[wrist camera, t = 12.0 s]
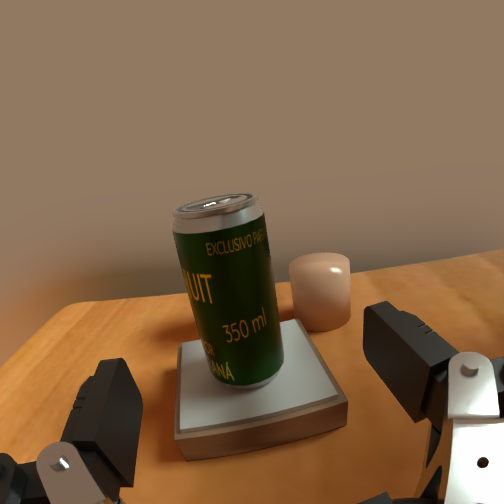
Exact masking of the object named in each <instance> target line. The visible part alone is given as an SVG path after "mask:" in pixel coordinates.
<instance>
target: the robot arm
mask: <svg viewBox="0 0 504 504" xmlns="http://www.w3.org/2000/svg"><path fill="white" fill-rule="evenodd" d="M363 350H364V354H365V357H366V359H367V361H368V362H369V363H370V365H371V366H372V367H373V369H374V370H375V371H376V373H377V374H378V375H379V376H380V378H381V379H382V380H383V382H384V383H385V384H386V386H387V387H388V388H389V389H390V391H391V392H392V393H393V395H394V396H395V397H396V399H397V400H398V401H399V403H400V404H401V405H402V407H403V408H404V409H405V411H406V412H407V413H408V415H409V416H410V417H411V419H412V420H413V421H414V423H417V422H419V421H421V420H423V419H425V418H428V419H429V420H430V421H431V422H430V425H429V429H428V437H427V444H426V450H425V457H424V462H423V468H422V473H421V477H420V480H419V483H418V485H417V488H416V491H415V494H414V497H413V498H401V499H394V500H391V499H390V497H389V495H388V493H387V492H385V493H382V494H380V495H378V496H375V497H373V498H370V499H368V500H365V501H363V502H360V503H358V504H504V357H501V358H497V359H493V360H489V359H488V358H487V357H485V356H484V355H482V354H480V353H477V352H461V353H459V352H458V351H457V350H455V349H454V348H453V347H452V346H451V345H450V344H449V343H447V342H446V341H445V340H444V339H443V338H442V337H440V336H439V335H438V334H437V333H436V332H433V331H432V329H431V328H430V327H429V326H427V325H425V323H424V322H423V321H421V320H420V319H419V318H418V317H417V316H415V315H413V314H410V313H408V312H405V311H398V310H397V309H396V308H395V307H394V306H393V305H391V304H390V303H389V302H387V301H384V302H381V303H377V304H374V305H371V306H367V307H366V308H365V310H364V324H363ZM142 412H143V402H142V397H141V394H140V391H139V389H138V387H137V385H136V383H135V381H134V379H133V377H132V375H131V373H130V370H129V368H128V366H127V364H126V362H125V360H124V359H123V358H116V359H108V360H101V361H100V362H99V364H98V367H97V369H96V372H95V374H94V376H90V377H89V378H88V379H87V380H86V381H85V382H84V383H83V384H82V386H81V387H80V389H79V392H78V394H77V397H76V400H75V402H74V404H73V409H72V410H71V412H70V415H69V417H68V420H67V423H66V426H65V428H64V431H63V434H62V437H61V440H60V442H56V443H52V444H50V445H48V446H47V447H45V448H44V449H43V450H42V451H41V453H40V454H39V456H38V458H37V461H34V462H29V463H24V464H17V463H16V462H15V461H14V460H13V458H12V457H11V456H9V455H8V454H5V453H0V504H126V503H125V502H124V501H123V499H122V498H121V497H120V496H119V492H120V487H133V485H134V475H135V465H136V457H137V448H138V441H139V433H140V426H141V419H142Z"/></svg>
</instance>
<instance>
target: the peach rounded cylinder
mask: <svg viewBox="0 0 504 504" xmlns="http://www.w3.org/2000/svg"><path fill="white" fill-rule="evenodd" d="M289 273H290V282H291V291H292V299H293V308H294V318H295V319H299V320H300V321H301V323H302V325H303V326H304V328H305V330H308V331H313V332H326V331H331V330H335V329H338V328H340V327H342V326H343V325H345V324H346V323H347V322H348V321H349V319H350V317H351V297H350V263H349V260H348V258H347V257H345V256H343V255H340V254H336V253H313V254H308V255H304V256H301V257H299V258H296V259H295V260H293V261H292V262H291V263H290V264H289Z"/></svg>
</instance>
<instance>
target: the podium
mask: <svg viewBox="0 0 504 504" xmlns="http://www.w3.org/2000/svg"><path fill="white" fill-rule="evenodd" d="M280 327H281V334H282V341H283V349H284V363H283V365H282V367H281V370H280V371H279V373H278V375H277V377H276V378H274V379H273V380H272V381H271V382H270V383H268V384H266V385H264V386H262V387H260V388H256V389H251V390H235V389H231V388H228V387H226V386H224V385H223V384H221V383H220V382H219V381H218V380H217V379H216V378H215V377H214V376H213V374H212V373H211V372H210V368H209V365H208V362H207V359H206V355H205V352H204V349H203V345H202V342H201V339H200V340H195V341H189V342H184V343H182V344H178V357H177V374H176V395H175V425H174V440H175V442H176V444H177V446H178V447H179V449H180V451H181V453H182V454H183V456H184V458H185V459H186V461H192V460H200V459H208V458H215V457H221V456H227V455H233V454H239V453H244V452H249V451H254V450H259V449H263V448H268V447H272V446H276V445H280V444H284V443H288V442H292V441H296V440H300V439H303V438H307V437H310V436H314V435H317V434H320V433H323V432H327V431H330V430H333V429H336V428H339V427H342V426H345V425H346V424H347V411H348V400H347V398H346V396H345V395H344V393H343V391H342V390H341V388H340V386H339V385H338V383H337V381H336V380H335V378H334V376H333V375H332V373H331V371H330V370H329V368H328V366H327V365H326V363H325V361H324V360H323V358H322V356H321V355H320V353H319V351H318V350H317V348H316V346H315V345H314V343H313V341H312V340H311V338H310V336H309V335H308V333H307V331H306V330H305V328H304V326H303V325H302V323H301V321H300V320H299V319H292V320H288V321H284V322H280Z"/></svg>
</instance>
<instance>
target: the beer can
mask: <svg viewBox="0 0 504 504" xmlns="http://www.w3.org/2000/svg"><path fill="white" fill-rule="evenodd" d="M257 200H258V197H257V195H256V194H254V193H234V194H226V195H219V196H214V197H209V198H204V199H200V200H196V201H193V202H190V203H186V204H184V205H181V206H179V207H177V208H175V209H174V210H173V216H174V217H175V220H174V225H173V229H172V231H173V235H174V240H175V244H176V248H177V252H178V257H179V261H180V264H181V269H182V273H183V277H184V280H185V284H186V288H187V292H188V296H189V300H190V303H191V307H192V311H193V314H194V318H195V321H196V325H197V328H198V332H199V335H200V339H201V342H202V345H203V349H204V352H205V355H206V359H207V362H208V365H209V368H210V372H211V373H212V374H213V376H214V377H215V378H216V379H217V380H218V381H219V382H220V383H221V384H223V385H224V386H226V387H228V388H231V389H235V390H251V389H256V388H260V387H262V386H264V385H266V384H268V383H270V382H271V381H272V380H273V379H274V378H276V377H277V375H278V373H279V371H280V370H281V367H282V365H283V363H284V349H283V341H282V334H281V327H280V319H279V312H278V305H277V298H276V291H275V284H274V277H273V270H272V263H271V256H270V249H269V243H268V236H267V229H266V223H265V216H264V211H263V210H262V208H261V207H260V205H259V204H258V203H257Z"/></svg>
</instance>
